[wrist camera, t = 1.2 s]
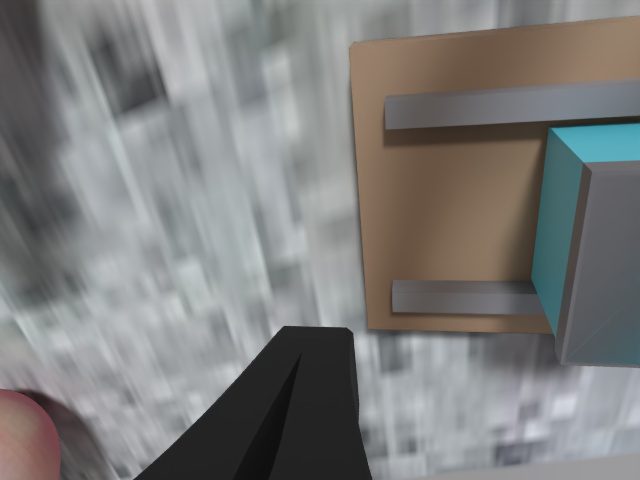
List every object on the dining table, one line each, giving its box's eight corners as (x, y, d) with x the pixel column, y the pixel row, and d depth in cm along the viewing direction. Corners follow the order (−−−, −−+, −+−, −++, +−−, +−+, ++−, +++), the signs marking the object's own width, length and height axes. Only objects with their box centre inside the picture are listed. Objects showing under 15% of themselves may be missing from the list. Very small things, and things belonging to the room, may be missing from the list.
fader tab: (674, 116, 13) (773, 165, 9) (635, 281, 15) (702, 370, 12) (545, 123, 13) (592, 171, 10) (527, 280, 16) (560, 364, 12)
